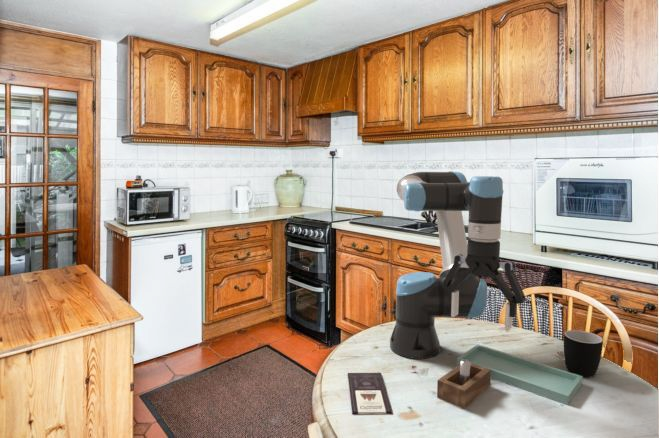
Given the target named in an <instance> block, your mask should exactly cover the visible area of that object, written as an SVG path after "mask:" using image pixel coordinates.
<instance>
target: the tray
mask: <svg viewBox="0 0 659 438" xmlns="http://www.w3.org/2000/svg"><path fill="white" fill-rule="evenodd" d="M461 359H467V360H469V361H470V363H472V364H475V365H478V366H481V367H484V368H487V369H490V370H491V375H490V379H493V380H496V381H499V382H502V383H505V384H507V385H510V386H513V387H515V388H518V389H521V390H524V391H527V392H530V393H533V394H536V395H538V396H540V397H544V398H546V399H550V400H553V401H555V402H558V403H561V404H563V405H566V406H568V405H569V404H570V402H571V401H572V399H573V398H574V397H575V395H576V394H577V392H578V391H579V389H580V388H581V386H582V385H583V378H584V377H583V376H580V375H577V374H574V373H570V372H569V371H568V370H564V369H559V368H558V367H553V366H551V365H546V364H543V363H541V362H540V363H539V362H538V361H533V360H530V359H528V358H524V357H521V356H517V355H514V354H510V353H507V352H505V351H502V350H501V351H500V350H498V349H495V348H490V347H488V346H485V345H482V344H478V343H477V344H476V345H474V346H473V347H472V348H470V349H469V350H467V351H466V352H464V353H462V354H461V355H460V356H458V357H457V358H456V367H457V366H458V365H460V360H461Z"/></svg>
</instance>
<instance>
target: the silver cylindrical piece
mask: <svg viewBox="0 0 659 438" xmlns="http://www.w3.org/2000/svg"><path fill="white" fill-rule="evenodd" d="M469 380H470V361H469V360H467V359H461V360H460V381H459V385H460V386H462V385H464V384H465V383H466V382H468V381H469Z"/></svg>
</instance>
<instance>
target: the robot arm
mask: <svg viewBox="0 0 659 438" xmlns="http://www.w3.org/2000/svg"><path fill="white" fill-rule="evenodd" d="M503 185H504V182H503V179H502V178H501V177H500V176H492V175H489V176H488V175H484V176H483V175H481V176H480V175H476V176H472V177H471V178H470V180H469V182H468V179H467V177H466V175H464V174H463V172H460V171H453V170H452V171H451V170H450V171H417V172H412V173H409V174H407V175H404V176H403V177H401V178H400V179H399V181H398V183H397V185H396V192H397V195H398V197H399V199H401V200H402V201H403V205H404V209H405V210H406V211H409V212H411V211H412V212H413V211H414V212H428V211H429V212H434V213H435V215H436V223H437V230H438V231H437V232H438V237H439V247H440V253H441V254H440V255H441V263H442V271H440V273H439V276H438V278H437V277H436V274H435V273H432V272H429V271H428V272H425V271H415V272H409V273H406V274H405V273H404V274H403V275H401V276H399V278H398V279H397V281H396V290H395V295H396V298H395V299H396V305H395V306H396V307H395V323H394V328H393V329H392V333H391V335H390V339H389V348H390V350H391V351H392V352H394V353H395V354H397V355H399V356H401V357H404V358H409V359H428V358H432V357H435V356H437V355H439V353H440V351H441V350H440V349H441V348H440V347H441V343H440V340H439V336H438V334H437V330H436V327H435V320H436V319H435V318H438V317H439V318H465V319H469V318H479V317H481V316H483V314H484V312H485V310H486V307H487V301H488V285H487V282H486V279H487V278H490V279H491V281H492V282H493V283H494V284H495V285H496V286H497V288H498V289H499V290H500V292H501V294H502V295H503V297H504V298H505V299H506V300H507V303H505V314H504V331H508V332H509V330H511V328H512V327H513V325H512V324H513V318H515V317H516V316H517V313H518V311H517V310H518V304H519V305H520V304H521V305H522V304H523V303H524V302H525V301H526V300H527V297H526V296H525V293H524V291H523V288H522V286H521V284H520V282H519V280H518V277H517V275H516V273H515V271H514V262H513V261H511V260H509V261H508V262H506V261H501V260H500V252H501V242H500V239H501V233H502V232H501V231H502V213H503V212H502V211H503V195H504V189H503V188H504V186H503ZM463 212H468V224H467V225H468V226H467V235H466V230H465V223H464V217H463ZM467 237H468V238H469V239H468V240H467ZM500 268H502V271H503V272H504V273H505V276H506V278H507V281H508V283H509V285H508V284H507V282H506V281H505V280H504V279H503V277H502V275H501V273H500V271H499V269H500ZM481 277H482V278H481ZM484 278H485V279H484ZM509 286H510V287H511V288H510V287H509Z"/></svg>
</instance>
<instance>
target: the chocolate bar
mask: <svg viewBox="0 0 659 438" xmlns="http://www.w3.org/2000/svg"><path fill="white" fill-rule="evenodd" d="M347 380H348V381H347V382H348V387H349V398H350V407H351V414H352V415H380V414H381V415H391V414H393V411H392V408H391V403H390V400H389V397H388V393H387V389H386V387H385V384H384V383H385V382H384V379H383V376H382V373H381V372H348V373H347Z"/></svg>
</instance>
